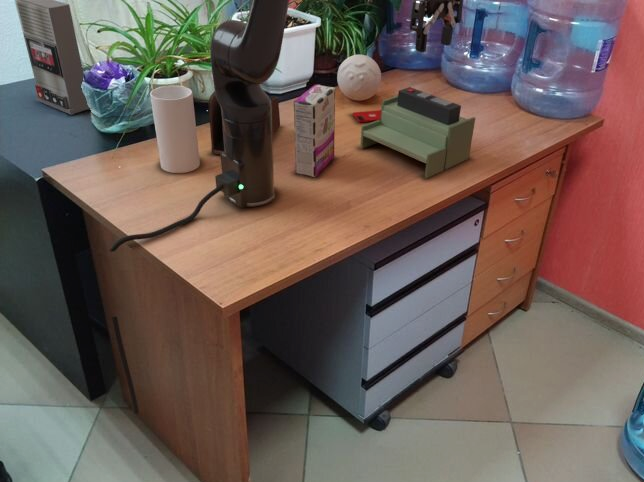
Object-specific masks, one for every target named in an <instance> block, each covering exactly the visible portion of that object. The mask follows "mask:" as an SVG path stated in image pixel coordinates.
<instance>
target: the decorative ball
mask: <svg viewBox="0 0 644 482" xmlns="http://www.w3.org/2000/svg"><path fill="white" fill-rule="evenodd" d="M336 75H337V76H336V79H337V80H336V81H337V85H338V88H339V90H340V91H341V93H342V94H343V95H344V96H345V97H346V98H348V99H350V100H353V101H358V102H359V101H360V102H361V101H366V100H368V99H370V98H372V97H373V96H374V95H376V93H377V92H378V91H379V89H380V86H381V83H382V72H381V69H380V66H379V65H378V63H377V62H376V61H375V60H374V59H373V58H372V57H370V56H368V55H365V54H353V55H351V56H349V57H347V58H345V59H344V60H343V61H342V62H341V64H340V65H339V67H338V70H337V74H336Z"/></svg>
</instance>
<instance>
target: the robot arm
mask: <svg viewBox="0 0 644 482" xmlns="http://www.w3.org/2000/svg"><path fill="white" fill-rule="evenodd" d="M289 5H290V0H251V3H250V7H249V10H248V11H249V12H248V16H247V20H246V22H244V21H242V20H237V19H230V20H225V21H223V22H221V23H220V24H219V25H218V26H217V27H216V28H215V30H214V32H213V34H212V36H211V40H210V47H209V55H210V65H211V74H212V75H211V76H212V81H213V89H214V91H215V95H216V98H217V101H218V103H219V105H220V107H221V114H222V127H223V140H224V153H221V155H219V156H220V167H221V168H220V169H221V173H220V174H216V175H215V176H214V179H215V188H214V189H212V190H211V191H209V192H208V193H207V194H206V195H205V196H204V197H203V198H202V199H201V200H199V202H198V204H197V205H196V207H195V209H194V211H192V213H190V215H188V216H187V217H185V218H183V219H181V220H178V221H176V222H173V223H171V224H169V225H167V226H164V227H161V228H160V229H158V230H154V231H151V232H146V233H139V234H130V235H126V236H123V237H121V238H119V239H117V241H115V242H114V243H113V245H111V247H110V248H109V252H111V253H113V252H116V251H117V249H118V248H119V247H120V246H121V245H123V244H125V243H127V242H130V241H136V240H137V241H139V240H146V239H152V238H155V237H158V236H160V235H164V234H166V233H168V232H170V231H172V230H173V229H176V228H178V227H180V226H183V225H186V224H188V223H189V222H192V221H193V220H194V219H195V218H196V217H197V216H198V215H199V213H200V212H201V210H202V208H203V207H204V205H206V203H207V202H208V201H209V200H210V199H212V197H214V196H215V195H216V194H218V193H219V192H221V193H222V194H223V198H224V199H226V200H228V201H229V202H230V203H232V204H233V205H236V206H237V207H239V208H240V209H245V208H251V207H261V206H264V205H267V204H269V203H271V202H272V201H273V200H274V199H275V197H276V190H275V173H274V172H275V171H274V146H273V145H274V140H273V138H274V137H273V136H272V106H271V98H270V97H269V95H268V94H267V93H266V91H264V89H263V88H262V86H261V85H262V84H263V83H265V82H267V81H268V80H269V79H270V78H271V77H272V76H273V74H274V73H275V71H276V68H277V66H278V64H279V60H280V56H281V51H282V45H283V39H284V35H285V34H284V33H285V28H286V23H287V16H288V10H289ZM463 5H464V0H413V1H412V8H411V14H410V21H409V30H410V31H413V32H415V33H416V35H415V36H416V37H415V44H414V45H415V46H414V47H415V51H416V52H419V53H425V52H426V50H427V43H428V32H429V30H430V29H431V27H432V26H433V25H435V23H436V21H439V20H440V19H441V22H442V24H443V25H442V30H441V36H440V37H441V39H440V44H441V45H444V46H451V44H452V40H453V34H454V33H453V32H454V28H455V27H456V25H457V24H460V23H461V22H462V14H463V7H464V6H463ZM455 12H456V14H455ZM111 320H112V325H113V330H114V335H115V340H116V344H117V348H118V352H119V356H120V359H121V364H122V367H123V371H124V373H125V379H126V382H127V387H128V391H129V394H130V395H129V396H130V399H131V402H132V408H133V413H134V415H137V414H139V413H140V410H139V405H138V400H137V396H136V390H135V387H134V383H133V379H132V375H131V371H130V367H129V363H128V360H127V355H126V352H125V348H124V343H123V340H122V336H121V330H120V326H119V325H120V324H119V319H118V316H111Z"/></svg>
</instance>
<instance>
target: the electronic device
mask: <svg viewBox="0 0 644 482" xmlns="http://www.w3.org/2000/svg"><path fill="white" fill-rule="evenodd" d="M381 110H382V109H380V110H379V109H378V110H367V111H356V112H355V111H354V112H352V116H353V117H354V118H355V119H356V120H357V122H358V123H372V122H375V121H377V120H381Z"/></svg>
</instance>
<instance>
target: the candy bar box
mask: <svg viewBox="0 0 644 482" xmlns="http://www.w3.org/2000/svg"><path fill="white" fill-rule="evenodd" d="M335 115H336V87H333V86H327V85H322V84H314V85H313V86H311V87H310V88H309V89H308V90H306V91H305V92H304V93H302V94H301V95H299V96H298V97H297V98H295V100H294V101H293V122H294V150H295V151H294V153H295V154H294V155H295V174H297V175H301V176H306V177H311V178H316V177H317V176H318V175H320V173H321V172H322V171H323V170H324V169H325V168H326V167H327V166H328V165H329V163H331V161H333V159H335V132H336V131H335V123H336V116H335Z"/></svg>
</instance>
